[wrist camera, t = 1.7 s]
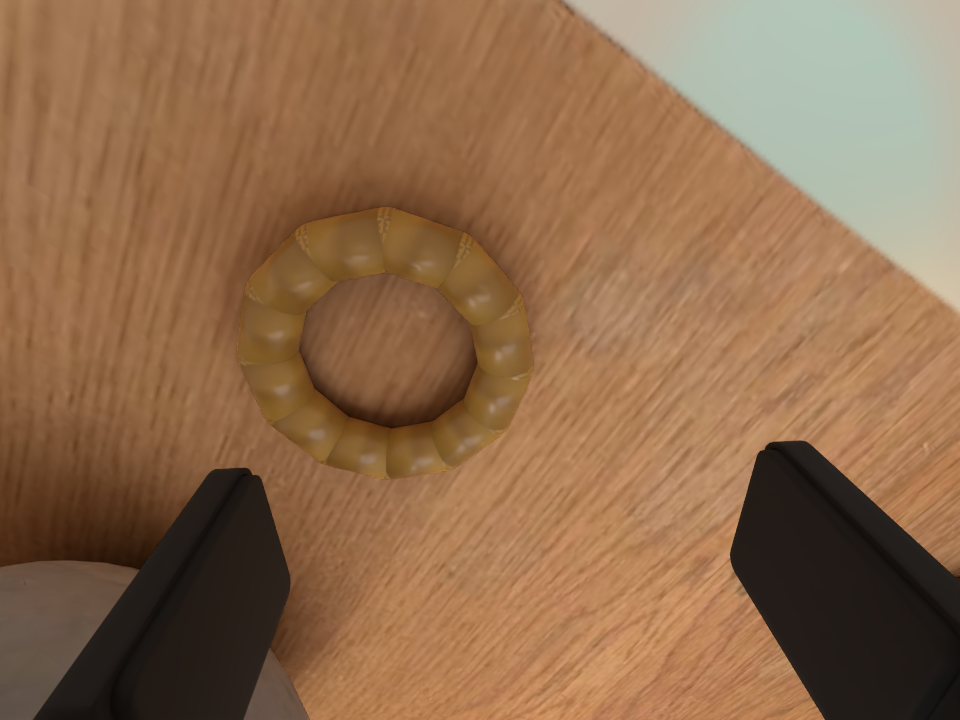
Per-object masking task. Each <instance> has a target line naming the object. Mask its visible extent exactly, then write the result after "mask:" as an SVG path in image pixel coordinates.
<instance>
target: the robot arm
mask: <svg viewBox="0 0 960 720" xmlns="http://www.w3.org/2000/svg"><path fill="white" fill-rule="evenodd" d="M730 559H731V564H732V567H733V569H734V571H735V573H736V575H737V577H738V578H739V580H740V582H741V583H742V585H743V586H744V588H745V590H746V591H747V593H748V595H749V596H750V598H751V599H752V601H753V603H754V604H755V606H756V608H757V609H758V611H759V613H760V614H761V616H762V617H763V619H764V621H765V622H766V624H767V626H768V627H769V629H770V631H771V632H772V634H773V635H774V637H775V639H776V640H777V642H778V644H779V645H780V647H781V649H782V650H783V652H784V653H785V655H786V657H787V658H788V660H789V662H790V663H791V665H792V666H793V668H794V670H795V671H796V673H797V675H798V676H799V678H800V680H801V681H802V683H803V684H804V686H805V688H806V689H807V691H808V693H809V694H810V696H811V698H812V699H813V701H814V702H815V704H816V706H817V707H818V709H819V711H820V712H821V714H822V716H823V717H824V719H825V720H960V581H959V580H958V579H957V578H956V577H954V576H953V575H952V574H951V573H950V572H949V571H948V570H947V569H946V568H945V567H944V566H943V565H941V564H940V563H939V562H938V561H937V560H936V559H935V558H934V557H933V556H932V555H931V554H929V553H928V552H927V551H926V550H925V549H924V548H923V547H922V546H921V545H920V544H919V543H917V542H916V541H915V540H914V539H913V538H912V537H911V536H910V535H909V534H908V533H907V532H905V531H904V530H903V529H902V528H901V527H900V526H899V525H898V524H897V523H896V522H895V521H893V520H892V519H891V518H890V517H889V516H888V515H887V514H886V513H885V512H884V511H883V510H881V509H880V508H879V507H878V506H877V505H876V504H875V503H874V502H873V501H872V500H871V499H869V498H868V497H867V496H866V495H865V494H864V493H863V492H862V491H861V490H860V489H859V488H858V487H856V486H855V485H854V484H853V483H852V482H851V481H850V480H849V479H848V478H847V477H846V476H844V475H843V474H842V473H841V472H840V471H839V470H838V469H837V468H836V467H835V466H834V465H832V464H831V463H830V462H829V461H828V460H827V459H826V458H825V457H824V456H823V455H822V454H820V453H819V452H818V451H817V450H816V449H815V448H814V447H813V446H812V445H810V444H809V443H808V442H806V441H781V442H771V443H769V444H768V445H767V446H766V448H765V450H762V451H760V452H759V453H758V455H757V458H756V461H755V465H754V468H753V472H752V476H751V479H750V483H749V486H748V490H747V494H746V497H745V501H744V504H743V508H742V511H741V515H740V519H739V522H738V526H737V529H736V533H735V537H734V540H733V544H732V547H731V552H730ZM289 590H290V574H289V571H288V567H287V564H286V560H285V557H284V554H283V550H282V547H281V544H280V540H279V537H278V534H277V530H276V527H275V523H274V520H273V517H272V513H271V510H270V507H269V503H268V500H267V497H266V493H265V490H264V486H263V483H262V480H261V478H260V477H259V476H258V475H252V473H251V471H250V470H249V469H248V468H230V469H215V470H212V471H211V472H210V473H209V474H208V475H207V477H206V478H205V480H204V481H203V482H202V484H201V485H200V487H199V488H198V489H197V491H196V492H195V494H194V495H193V496H192V498H191V499H190V501H189V502H188V503H187V505H186V506H185V508H184V509H183V510H182V512H181V513H180V515H179V516H178V517H177V519H176V520H175V522H174V523H173V524H172V526H171V527H170V529H169V530H168V531H167V533H166V534H165V536H164V537H163V539H162V540H161V541H160V543H159V544H158V546H157V547H156V548H155V550H154V551H153V553H152V554H151V555H150V557H149V558H148V559H147V560H146V562H145V563H144V565H143V566H142V567H141V569H140V570H139V572H138V573H137V574H136V576H135V577H134V579H133V580H132V581H131V583H130V584H129V586H128V587H127V588H126V590H125V591H124V593H123V594H122V595H121V597H120V598H119V600H118V601H117V602H116V604H115V605H114V607H113V608H112V609H111V611H110V612H109V614H108V615H107V616H106V618H105V619H104V621H103V622H102V623H101V625H100V626H99V628H98V629H97V630H96V632H95V633H94V635H93V636H92V637H91V639H90V640H89V642H88V643H87V644H86V646H85V647H84V649H83V650H82V651H81V653H80V654H79V656H78V657H77V658H76V660H75V661H74V663H73V664H72V665H71V667H70V668H69V670H68V671H67V672H66V674H65V675H64V677H63V678H62V679H61V681H60V682H59V684H58V685H57V686H56V688H55V689H54V691H53V692H52V693H51V695H50V696H49V698H48V699H47V700H46V702H45V703H44V705H43V706H42V707H41V709H40V710H39V712H38V713H37V714H36V716H35V717H34V719H33V720H244V717H245V714H246V711H247V709H248V706H249V703H250V700H251V698H252V695H253V692H254V689H255V687H256V684H257V681H258V678H259V675H260V673H261V670H262V667H263V664H264V662H265V659H266V656H267V653H268V651H269V648H270V645H271V642H272V640H273V637H274V634H275V631H276V628H277V626H278V623H279V620H280V617H281V615H282V612H283V609H284V606H285V604H286V601H287V598H288V595H289Z"/></svg>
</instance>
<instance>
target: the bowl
mask: <svg viewBox="0 0 960 720" xmlns="http://www.w3.org/2000/svg"><path fill="white" fill-rule="evenodd" d="M138 572H139V569H136V568H132V567H128V566H119V565H114V564H109V563H102V562H86V561H70V560H65V561H37V562H30V563H22V564H15V565H9V566H4V567H0V720H33V719H34V717H35V716H36V714H37V713H38V712H39V710H40V709H41V707H42V706H43V705H44V703H45V702H46V700H47V699H48V698H49V696H50V695H51V693H52V692H53V691H54V689H55V688H56V686H57V685H58V684H59V682H60V681H61V679H62V678H63V677H64V675H65V674H66V672H67V671H68V670H69V668H70V667H71V665H72V664H73V663H74V661H75V660H76V658H77V657H78V656H79V654H80V653H81V651H82V650H83V649H84V647H85V646H86V644H87V643H88V642H89V640H90V639H91V637H92V636H93V635H94V633H95V632H96V630H97V629H98V628H99V626H100V625H101V623H102V622H103V621H104V619H105V618H106V616H107V615H108V614H109V612H110V611H111V609H112V608H113V607H114V605H115V604H116V602H117V601H118V600H119V598H120V597H121V595H122V594H123V593H124V591H125V590H126V588H127V587H128V586H129V584H130V583H131V581H132V580H133V579H134V577H135V576H136V574H137V573H138ZM244 720H310V719H309V716H308V714H307V712H306V710H305V708H304V706H303V704H302V702H301V700H300V698H299V696H298V694H297V692H296V690H295V688H294V686H293V684H292V681H291V679H290V677H289V675H288V674H287V672H286V671H285V669H284V668H283V666H282V665H281V663H280V662H279V660H278V659H277V657H276V656H275V654H274V652H273V651H272V649H271V648H269V651H268V653H267V656H266V659H265V662H264V664H263V667H262V670H261V673H260V675H259V678H258V681H257V684H256V687H255V689H254V692H253V695H252V698H251V700H250V703H249V706H248V709H247V711H246V714H245V717H244Z"/></svg>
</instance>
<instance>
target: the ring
mask: <svg viewBox="0 0 960 720" xmlns="http://www.w3.org/2000/svg"><path fill="white" fill-rule="evenodd" d="M385 272H387V273H391V274H394V275H397V276H400V277H403V278H406V279H409V280H412V281H415V282H418V283H422V284H425V285H428V286H431V287H434V288H437V289H438V291H439V292H440V293H441V294H442V295H443V296H444V297H445V298H446V299H447V300H448V301H449V302H450V303H451V304H452V305H453V306H454V307H455V309H456V310H457V311H458V312H459V313H460V314H461V315H462V316H463V317H464V318H465V319H466V320H467V321H468V322H469V324H470V328H471V333H472V338H473V342H474V347H475V351H476V356H477V361H478V364H477V366H476V369H475V372H474V374H473V377H472V379H471V382H470V385H469V387H468V390H467V392H466V395H465V397H464V398H463V399H462V400H460V401H459V402H458V403H456V404H455V405H454V406H453V407H451V408H450V409H449V410H447V411H446V412H445V413H443V414H442V415H441V416H439V417H438V418H437V419H436V420H434V421H431V422H425V423H419V424H413V425H408V426H402V427H396V428H389V427H385V426H381V425H377V424H374V423H370V422H366V421H362V420H359V419H355V418H351V417H348V416H347V415H346V414H344V413H343V412H342V411H341V410H340V409H338V408H337V407H336V406H335V405H334V404H333V403H331V402H330V401H329V400H328V399H327V398H325V397H324V396H323V395H322V394H321V393H319V392H318V391H317V390H316V389H315V388H314V386H313V384H312V381H311V379H310V376H309V374H308V371H307V369H306V366H305V364H304V361H303V359H302V356H301V354H300V351H299V347H300V342H301V337H302V332H303V327H304V322H305V317H306V312H307V310H308V309H309V308H310V307H312V306H313V305H314V304H315V303H316V302H317V301H318V300H319V299H320V298H321V297H322V296H323V295H324V294H325V293H326V292H327V291H329V290H330V289H331V288H332V287H333V286H334V285H335V284H336V283H337V282H339V281H344V280H349V279H354V278H359V277H365V276H370V275H375V274H380V273H385ZM236 355H237V359H238V362H239V365H240V367H241V369H242V371H243V373H244V375H245V377H246V380H247V382H248V384H249V386H250V388H251V390H252V393H253V395H254V397H255V399H256V401H257V403H258V405H259V408H260V410H261V412H262V414H263V416H264V418H265V419H266V421H267V422H268V423H269V424H270V425H271V426H273V427H274V428H275V429H277V430H278V431H279V432H281V433H282V434H283V435H284V436H286V437H287V438H288V439H290V440H291V441H292V442H293V443H295V444H296V445H297V446H299V447H300V448H301V449H302V450H304V451H305V452H306V453H308V454H309V455H310V456H312V457H313V458H314V459H315V460H317V461H318V462H320V463H321V464H324V465H327V466H331V467H335V468H339V469H343V470H347V471H351V472H355V473H359V474H363V475H367V476H371V477H375V478H379V479H384V480H394V479H400V478H406V477H412V476H418V475H424V474H430V473H436V472H442V471H448V470H451V469H454V468H456V467H458V466H459V465H461V464H462V463H463V462H465V461H466V460H467V459H469V458H470V457H472V456H473V455H474V454H476V453H477V452H479V451H480V450H481V449H483V448H484V447H486V446H487V445H488V444H490V443H491V442H493V441H494V440H495V439H497V438H498V437H500V436H501V435H502V434H503V433H504V432H505V431H506V430H507V429H508V428H509V426H510V424H511V421H512V419H513V417H514V415H515V412H516V410H517V408H518V406H519V403H520V401H521V399H522V397H523V394H524V392H525V390H526V388H527V386H528V383H529V381H530V379H531V377H532V374H533V370H534V359H533V353H532V347H531V340H530V334H529V328H528V321H527V315H526V308H525V303H524V299H523V297H522V295H521V293H520V292H519V290H518V289H517V288H516V287H515V285H514V284H513V283H512V282H511V281H510V280H509V278H508V277H507V276H506V275H505V274H504V273H503V272H502V270H501V269H500V268H499V267H498V266H497V265H496V263H495V262H494V261H493V260H492V259H491V258H490V257H489V255H488V254H487V253H486V252H485V251H484V250H483V248H482V247H481V246H480V245H479V244H478V243H477V241H476V240H475V239H474V238H473V237H471V236H470V235H469V234H467V233H465V232H462V231H459V230H456V229H454V228H451V227H448V226H445V225H442V224H439V223H436V222H433V221H430V220H428V219H425V218H422V217H419V216H416V215H413V214H410V213H407V212H404V211H402V210H399V209H396V208H392V207H379V208H374V209H369V210H364V211H359V212H354V213H349V214H344V215H339V216H335V217H330V218H325V219H320V220H315V221H311V222H307V223H305V224H303V225H301V226H300V227H299V228H297V229H296V230H295V231H294V232H293V233H292V234H291V235H290V236H289V237H288V239H287V240H286V241H285V242H284V243H283V244H282V245H281V246H280V247H279V248H278V249H277V250H276V251H275V252H274V253H273V254H272V255H271V256H270V257H269V258H268V259H267V260H266V261H265V262H264V263H263V264H262V265H261V266H260V267H259V268H258V269H257V270H256V271H255V272H254V273H253V274H252V276H251V277H250V278H249V279H248V281H247V283H246V286H245V291H244V298H243V305H242V312H241V319H240V327H239V334H238V341H237V348H236Z"/></svg>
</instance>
